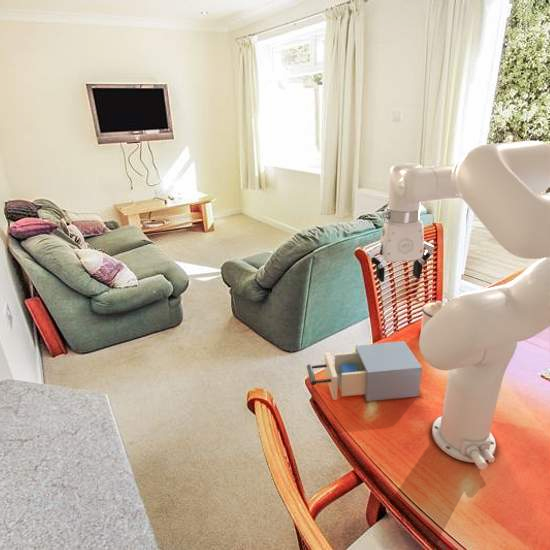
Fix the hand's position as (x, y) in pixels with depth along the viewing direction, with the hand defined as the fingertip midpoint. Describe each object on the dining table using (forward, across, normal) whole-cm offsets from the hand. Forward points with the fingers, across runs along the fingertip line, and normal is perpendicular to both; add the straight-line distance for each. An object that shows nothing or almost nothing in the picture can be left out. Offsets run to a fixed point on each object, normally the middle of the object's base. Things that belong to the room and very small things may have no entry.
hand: (398, 278), depth 99 cm
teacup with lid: (+26, +19, +12) cm, 35 cm away
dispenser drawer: (+25, -17, -10) cm, 32 cm away
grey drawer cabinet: (+26, -6, -10) cm, 29 cm away
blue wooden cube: (+24, -15, -10) cm, 30 cm away
